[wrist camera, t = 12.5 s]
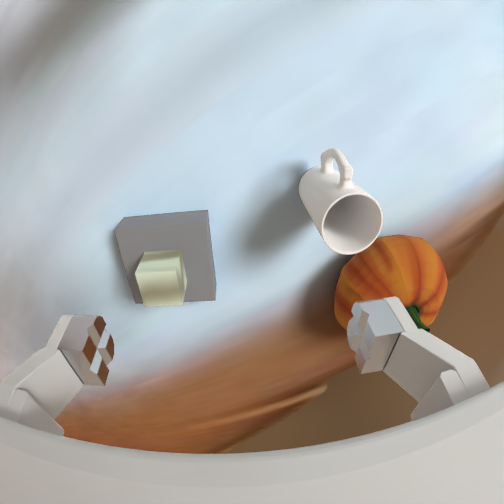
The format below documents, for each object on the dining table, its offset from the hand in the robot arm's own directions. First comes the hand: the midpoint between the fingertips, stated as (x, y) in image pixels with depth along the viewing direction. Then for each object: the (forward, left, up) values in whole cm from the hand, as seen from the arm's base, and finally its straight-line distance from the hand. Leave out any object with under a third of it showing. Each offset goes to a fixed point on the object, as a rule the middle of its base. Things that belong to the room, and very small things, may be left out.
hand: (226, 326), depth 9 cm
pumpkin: (+21, +24, -31) cm, 44 cm away
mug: (+4, +12, -31) cm, 33 cm away
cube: (+14, -9, -26) cm, 31 cm away
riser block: (+14, -9, -30) cm, 35 cm away
